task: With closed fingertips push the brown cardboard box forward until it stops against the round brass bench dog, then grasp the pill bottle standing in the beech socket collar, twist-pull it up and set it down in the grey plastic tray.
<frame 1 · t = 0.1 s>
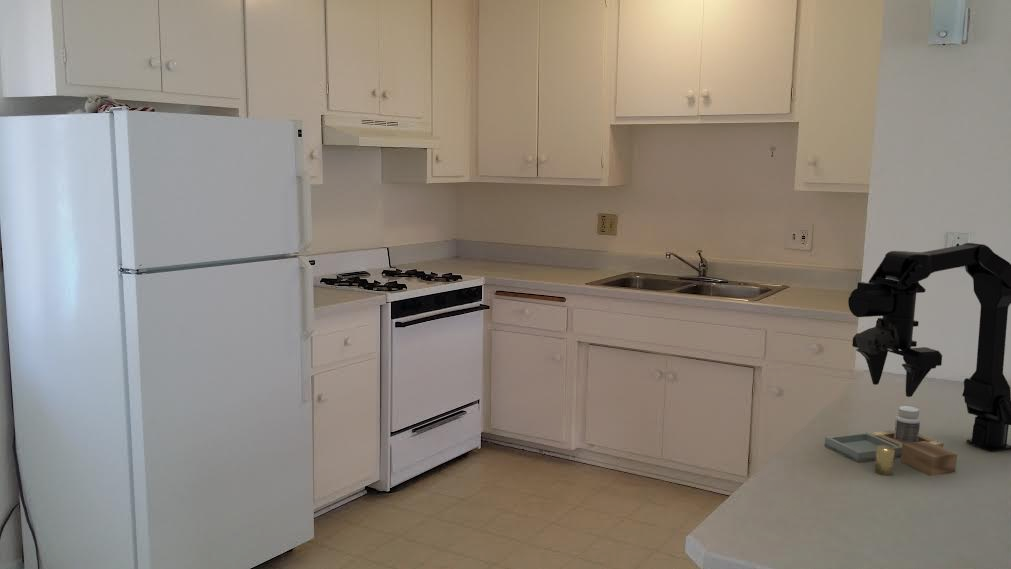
hand: (891, 390, 173), 15 cm above the countertop, fingers open, 9 cm apart
tray: (862, 451, 179), on the countertop
bench dog: (883, 472, 167), on the countertop
brown cardboard box: (927, 467, 171), on the countertop
pill bottle: (905, 447, 183), resting in socket collar
socket collar: (905, 446, 183), on the countertop
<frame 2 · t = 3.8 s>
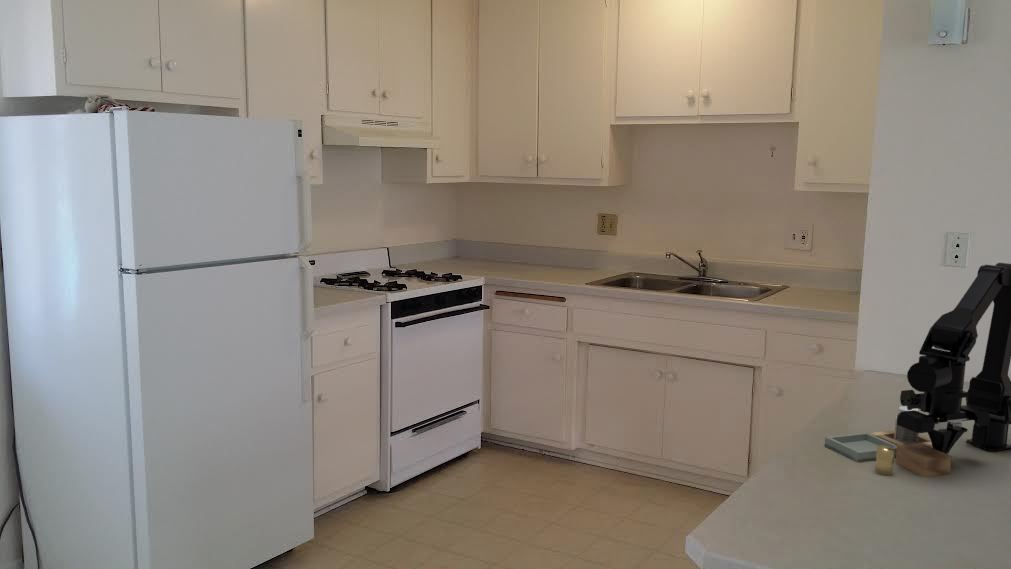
hand: (939, 459, 172), 1 cm above the countertop, fingers closed
brown cardboard box: (922, 469, 170), on the countertop, touching gripper
everything else where it was.
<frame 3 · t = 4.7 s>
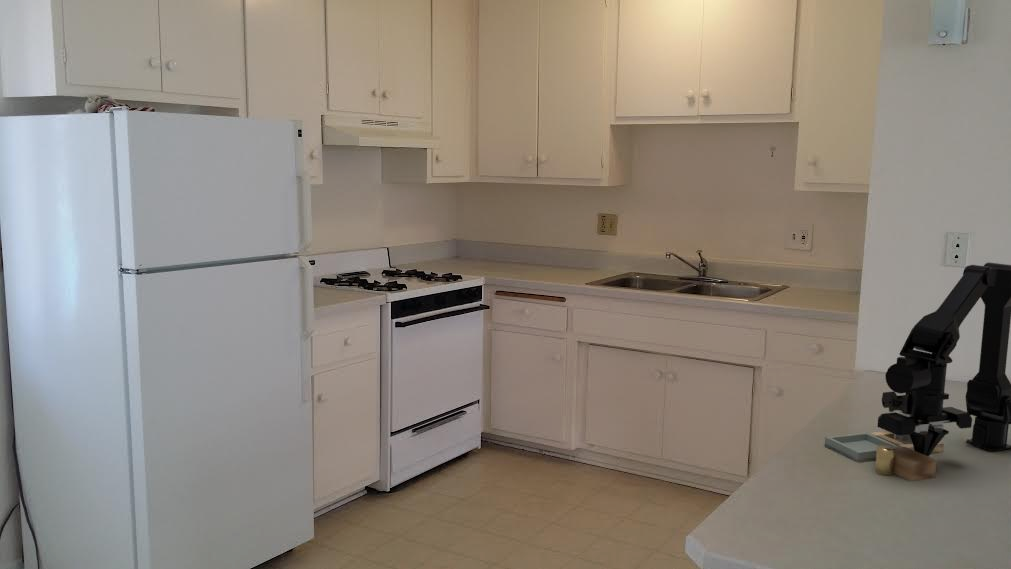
hand: (920, 462, 170), 1 cm above the countertop, fingers closed
brown cardboard box: (906, 474, 168), on the countertop, touching bench dog, gripper
everything else where it was.
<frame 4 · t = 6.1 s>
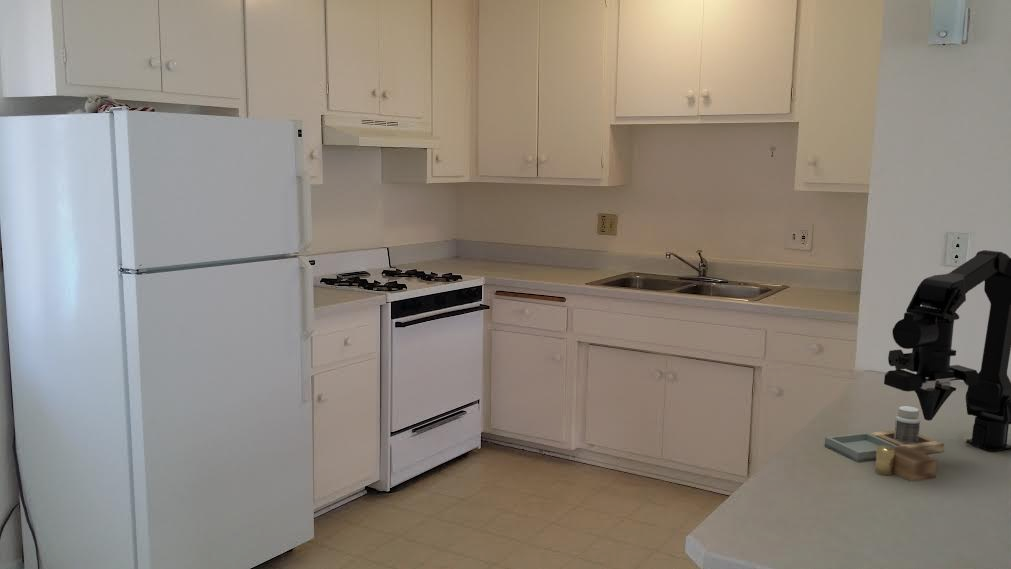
hand: (927, 419, 169), 10 cm above the countertop, fingers closed
brown cardboard box: (907, 473, 168), on the countertop
everything else where it was.
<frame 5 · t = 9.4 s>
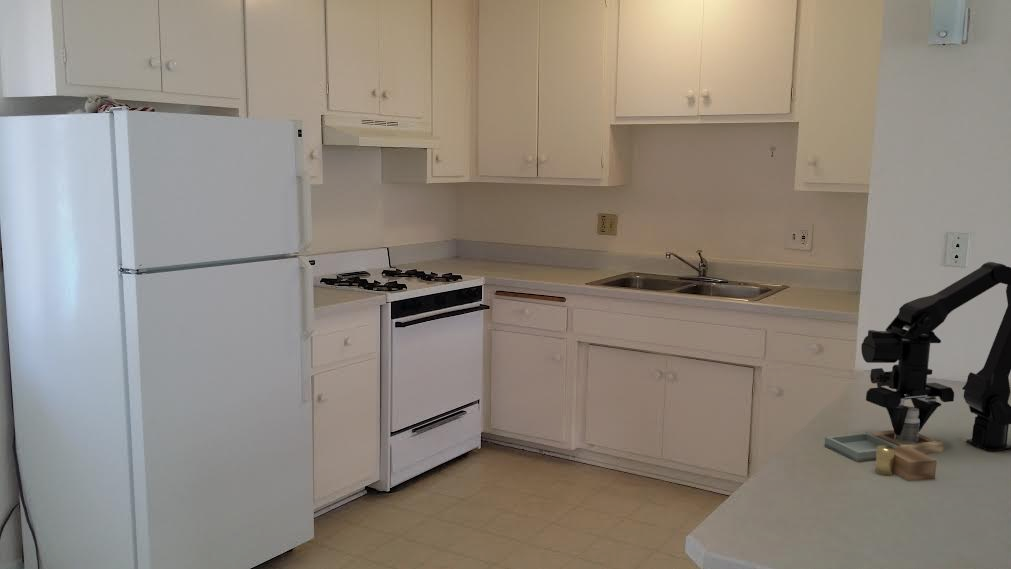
hand: (906, 433, 182), 3 cm above the countertop, fingers closed on pill bottle, 5 cm apart
pill bottle: (905, 447, 183), resting in socket collar, touching gripper
everything else where it was.
when the fingers open (4 cm above the countertop, at t = 13.5 s): pill bottle stays where it is, resting on tray.
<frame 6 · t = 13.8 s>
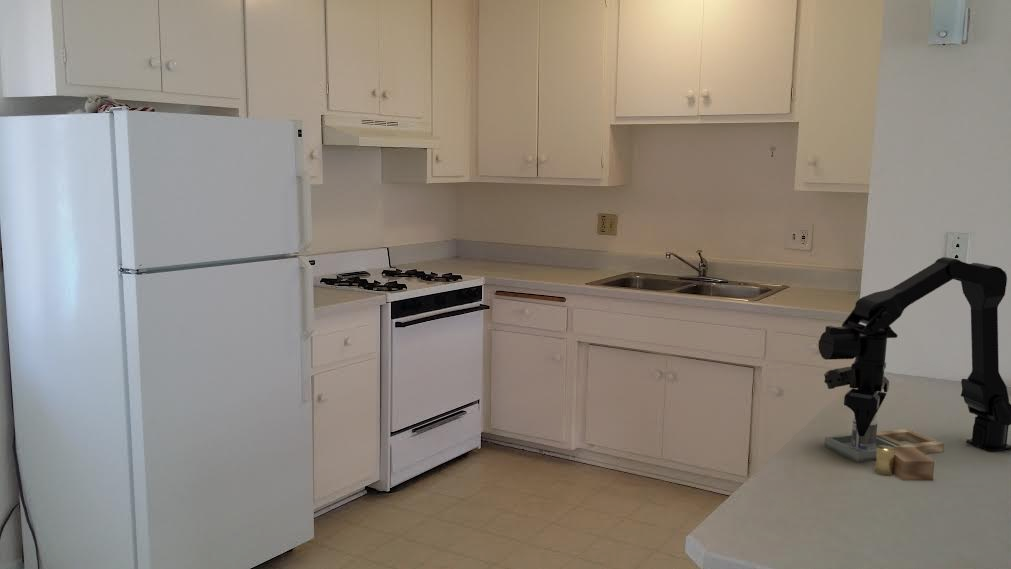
hand: (864, 430, 178), 4 cm above the countertop, fingers open, 7 cm apart
pill bottle: (862, 449, 179), resting on tray
everything else where it was.
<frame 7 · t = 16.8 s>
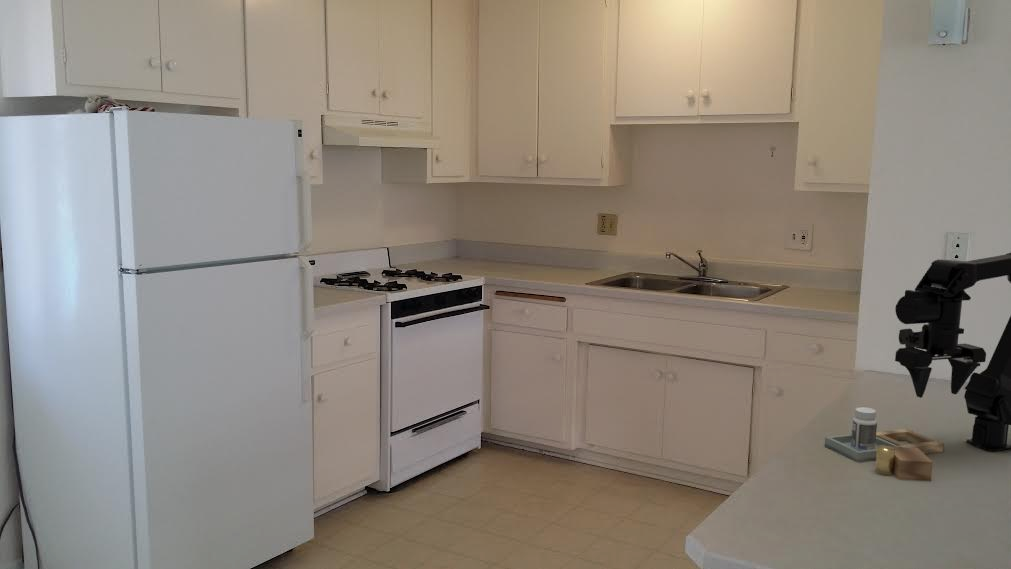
hand: (936, 395, 177), 13 cm above the countertop, fingers open, 9 cm apart
at the end: brown cardboard box 1.3 cm from the target spot, on the countertop; pill bottle inside the target area on the tray (0.2 cm from its centre), point 0.4 cm above the tray's base; pill bottle tilted 0° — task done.
